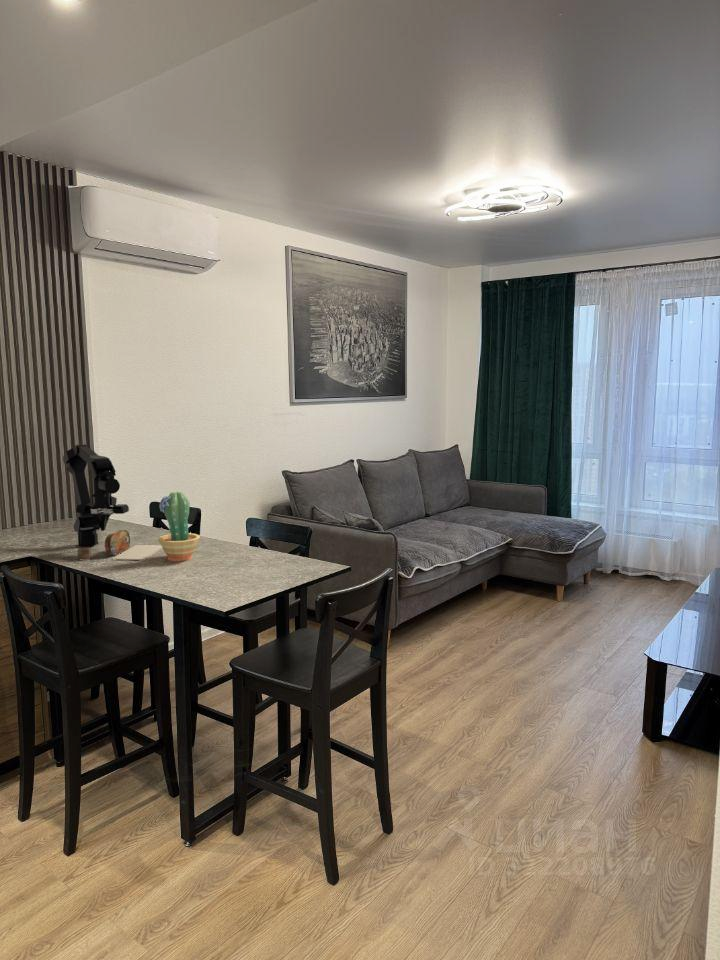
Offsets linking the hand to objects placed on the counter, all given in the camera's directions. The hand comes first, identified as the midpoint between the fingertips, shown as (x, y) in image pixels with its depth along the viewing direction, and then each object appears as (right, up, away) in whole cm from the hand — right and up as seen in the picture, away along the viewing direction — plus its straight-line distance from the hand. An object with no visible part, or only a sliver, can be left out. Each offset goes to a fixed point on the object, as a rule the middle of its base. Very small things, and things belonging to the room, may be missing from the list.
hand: (103, 530), depth 254 cm
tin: (+5, -9, +1) cm, 11 cm away
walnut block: (-4, -10, -9) cm, 14 cm away
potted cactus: (+32, -10, -7) cm, 34 cm away
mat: (+14, -9, 0) cm, 17 cm away
